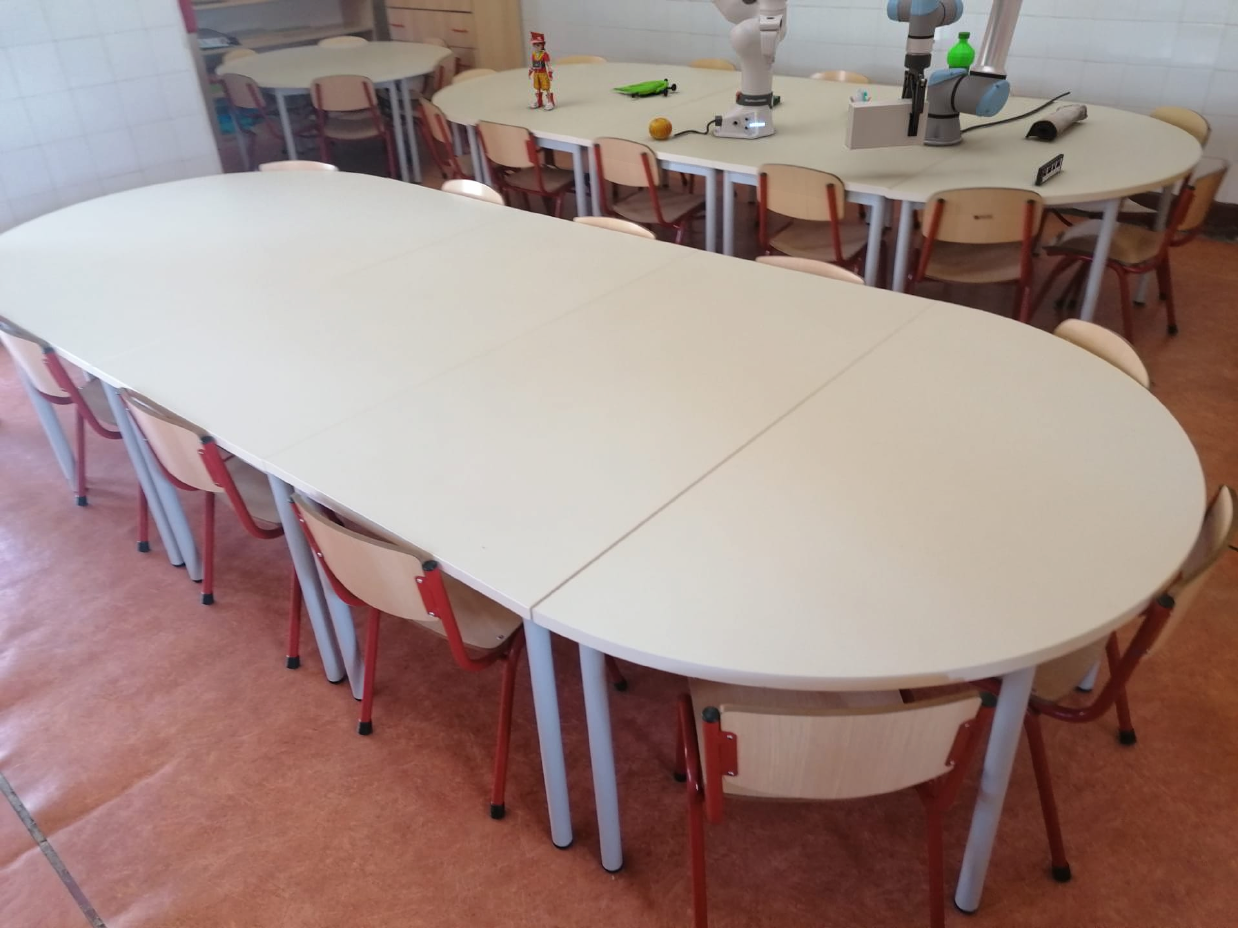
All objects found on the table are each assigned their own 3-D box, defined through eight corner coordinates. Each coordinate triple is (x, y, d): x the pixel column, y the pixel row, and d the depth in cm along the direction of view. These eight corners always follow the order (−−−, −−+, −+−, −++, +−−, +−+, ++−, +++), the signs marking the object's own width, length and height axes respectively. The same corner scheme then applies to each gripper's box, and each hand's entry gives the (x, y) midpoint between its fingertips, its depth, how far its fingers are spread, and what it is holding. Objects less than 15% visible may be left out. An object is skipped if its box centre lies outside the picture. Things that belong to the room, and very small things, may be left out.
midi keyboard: (1039, 185, 269) (1043, 168, 266) (1035, 184, 270) (1038, 168, 267) (1060, 170, 279) (1064, 154, 277) (1056, 169, 280) (1060, 153, 277)
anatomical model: (845, 88, 347) (871, 81, 346) (848, 115, 353) (873, 108, 352) (857, 97, 335) (883, 90, 334) (859, 125, 341) (885, 118, 340)
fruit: (641, 130, 330) (653, 111, 327) (649, 133, 338) (660, 114, 335) (659, 143, 329) (671, 123, 326) (666, 146, 337) (678, 126, 334)
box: (850, 149, 277) (854, 107, 270) (844, 144, 282) (848, 102, 275) (923, 145, 278) (929, 102, 270) (916, 139, 283) (922, 97, 276)
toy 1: (525, 109, 381) (517, 32, 364) (534, 104, 388) (527, 28, 371) (550, 110, 377) (543, 32, 360) (559, 105, 384) (553, 28, 367)
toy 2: (686, 85, 398) (631, 84, 414) (685, 72, 395) (629, 72, 411) (651, 104, 381) (596, 103, 397) (650, 92, 378) (594, 91, 394)
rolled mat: (1054, 109, 326) (1079, 92, 318) (1068, 130, 327) (1093, 113, 318) (1021, 132, 309) (1046, 114, 301) (1035, 154, 309) (1061, 137, 301)
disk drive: (765, 111, 358) (780, 102, 368) (766, 104, 356) (780, 95, 366) (742, 109, 363) (757, 100, 373) (742, 102, 361) (757, 93, 371)
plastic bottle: (973, 101, 354) (984, 32, 339) (955, 106, 349) (966, 36, 335) (952, 97, 361) (962, 29, 346) (934, 102, 356) (944, 33, 342)
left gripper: (765, 14, 290) (763, 60, 298) (758, 25, 274) (756, 73, 281) (785, 13, 288) (783, 59, 296) (779, 24, 272) (776, 73, 280)
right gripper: (942, 58, 257) (930, 140, 270) (920, 46, 273) (910, 124, 286) (916, 60, 257) (906, 142, 270) (896, 47, 273) (887, 126, 286)
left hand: (770, 66), depth 289 cm, fingers open, 8 cm apart
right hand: (908, 133), depth 278 cm, fingers closed on box, 6 cm apart
